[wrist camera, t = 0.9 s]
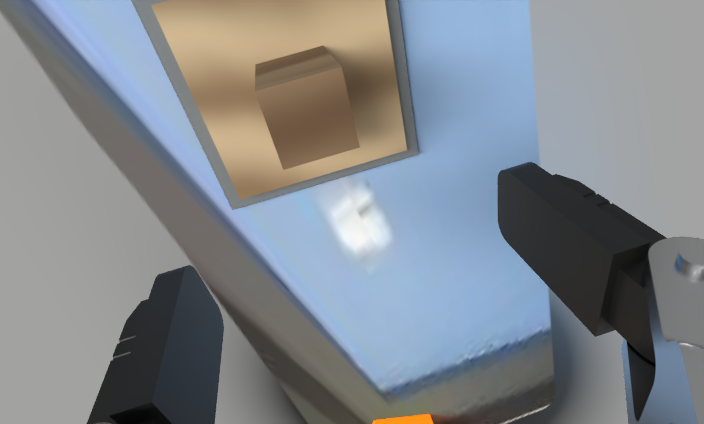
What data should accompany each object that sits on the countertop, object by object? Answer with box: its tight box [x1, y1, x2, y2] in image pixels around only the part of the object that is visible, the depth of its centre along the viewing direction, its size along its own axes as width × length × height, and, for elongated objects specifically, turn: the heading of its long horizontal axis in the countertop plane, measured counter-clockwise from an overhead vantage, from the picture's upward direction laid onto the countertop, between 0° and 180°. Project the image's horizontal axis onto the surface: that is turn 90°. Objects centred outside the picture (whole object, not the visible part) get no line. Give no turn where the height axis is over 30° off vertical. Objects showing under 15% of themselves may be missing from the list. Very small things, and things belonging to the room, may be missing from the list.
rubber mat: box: [131, 0, 418, 210], centre depth 24 cm, size 14×14×1 cm
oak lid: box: [151, 0, 407, 200], centre depth 21 cm, size 12×12×7 cm
